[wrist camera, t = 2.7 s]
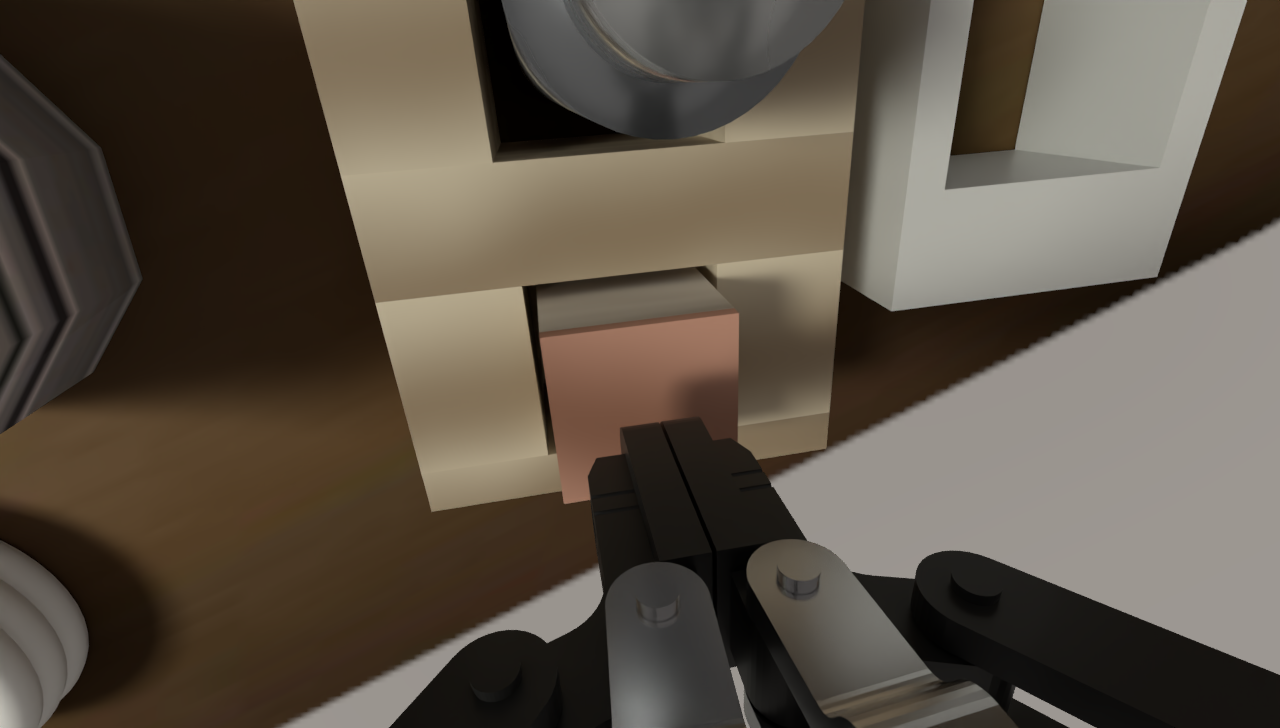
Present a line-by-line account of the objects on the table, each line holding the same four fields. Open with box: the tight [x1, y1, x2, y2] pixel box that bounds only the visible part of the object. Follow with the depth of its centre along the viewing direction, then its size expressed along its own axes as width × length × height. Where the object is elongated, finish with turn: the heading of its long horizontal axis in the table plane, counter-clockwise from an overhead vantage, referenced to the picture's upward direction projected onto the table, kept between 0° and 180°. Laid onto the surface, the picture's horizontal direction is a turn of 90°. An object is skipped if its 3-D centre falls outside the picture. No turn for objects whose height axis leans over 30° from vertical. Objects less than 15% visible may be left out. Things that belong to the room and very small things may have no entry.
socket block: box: [293, 0, 865, 512], centre depth 15 cm, size 15×11×5 cm
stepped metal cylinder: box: [501, 0, 844, 140], centre depth 10 cm, size 4×4×13 cm
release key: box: [536, 267, 739, 504], centre depth 15 cm, size 4×4×4 cm
